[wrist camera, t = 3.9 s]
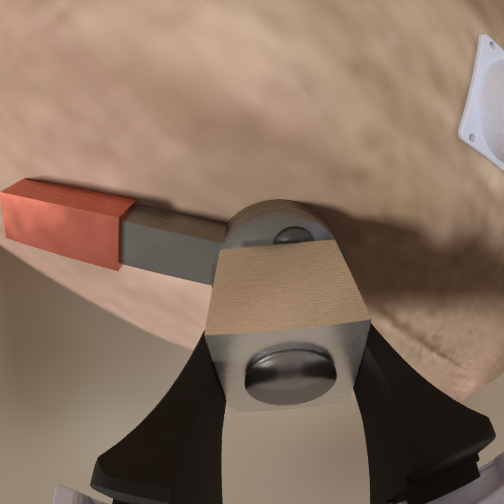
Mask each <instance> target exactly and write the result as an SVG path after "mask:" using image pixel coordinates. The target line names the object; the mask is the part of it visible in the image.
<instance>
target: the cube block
mask: <svg viewBox="0 0 504 504" xmlns="http://www.w3.org/2000/svg"><path fill="white" fill-rule="evenodd" d="M370 323H371V317H370V315H369V312H368V310H367V308H366V305H365V303H364V301H363V299H362V296H361V294H360V292H359V290H358V288H357V285H356V283H355V281H354V279H353V277H352V275H351V272H350V270H349V268H348V266H347V264H346V262H345V260H344V258H343V256H342V254H341V252H340V250H339V248H338V245H337V243H336V241H335V240H324V241H312V242H301V243H290V244H278V245H267V246H256V247H245V248H234V249H223V250H220V253H219V258H218V263H217V268H216V273H215V279H214V284H213V289H212V295H211V300H210V306H209V311H208V317H207V322H206V328H205V334H204V336H205V339H206V342H207V345H208V348H209V351H210V354H211V357H212V360H213V363H214V366H215V369H216V372H217V375H218V377H219V380H220V383H221V386H222V389H223V391H224V394H225V397H226V399H227V402H228V405H229V407H230V410H231V412H249V411H269V410H282V409H294V408H303V407H312V406H320V405H326V404H333V403H339V402H346V401H349V400H350V397H351V393H352V390H353V387H354V384H355V380H356V377H357V374H358V370H359V367H360V363H361V359H362V356H363V352H364V348H365V344H366V340H367V336H368V332H369V328H370Z"/></svg>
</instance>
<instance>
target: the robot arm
mask: <svg viewBox="0 0 504 504" xmlns="http://www.w3.org/2000/svg"><path fill="white" fill-rule="evenodd" d="M490 45H491V46H490ZM470 134H471V139H469V136H470ZM458 136H459V138H460V139H461V140H462V141H463V142H464V143H466V144H467V145H469V146H470V147H472V148H473V149H474V150H476V151H477V152H479V153H480V154H481V155H483V156H484V157H485V158H487V159H488V160H489V161H491V162H492V163H493V164H494V165H496V166H497V167H498V168H499V169H501V170H502V171H503V172H504V50H503V49H502V48H501V47H500V46H498V45H497V44H496V43H495V42H494V41H493V40H492V39H491V38H490V37H489V36H488V35H486V34H481V35H480V36H479V41H478V48H477V54H476V60H475V65H474V70H473V75H472V80H471V84H470V89H469V93H468V97H467V101H466V105H465V108H464V112H463V116H462V119H461V123H460V126H459V129H458ZM204 334H205V331H204V332H203V334H202V336H201V338H200V340H199V342H198V344H197V346H196V348H195V349H194V351H193V353H192V355H191V357H190V358H189V360H188V362H187V364H186V365H185V367H184V368H183V370H182V372H181V373H180V375H179V376H178V378H177V379H176V381H175V382H174V384H173V385H172V386H171V388H170V389H169V391H168V392H167V393H166V395H165V396H164V397H163V399H162V400H161V401H160V402H159V404H158V405H157V406H156V407H155V408H154V409H153V410H152V412H151V413H150V414H149V415H148V416H147V417H146V418H145V419H144V420H143V421H142V422H141V423H140V424H139V425H138V426H137V427H136V428H135V429H134V430H133V431H131V432H130V433H129V434H128V435H127V436H126V437H124V438H123V439H122V440H121V441H120V442H118V443H117V444H116V445H115V446H113V447H112V448H110V449H109V450H107V451H106V452H105V453H103V454H102V455H100V456H99V457H98V459H97V461H96V464H95V467H94V471H93V475H92V479H91V483H90V486H91V487H92V488H93V489H94V490H96V491H98V492H100V493H102V494H104V495H107V496H109V497H111V498H113V503H112V504H223V503H222V477H221V450H222V428H223V421H224V414H225V406H226V397H225V394H224V391H223V389H222V386H221V383H220V380H219V377H218V375H217V372H216V369H215V366H214V363H213V360H212V357H211V354H210V351H209V348H208V345H207V342H206V339H205V336H204ZM353 389H354V393H355V396H356V399H357V402H358V406H359V409H360V412H361V416H362V420H363V425H364V431H365V438H366V445H367V453H368V462H369V475H370V504H504V452H502V453H501V454H500V455H498V456H497V457H496V458H495V459H494V460H492V461H490V462H488V463H487V464H485V465H483V466H482V467H480V468H478V467H477V463H476V462H478V461H479V456H478V453H479V452H480V451H481V450H482V449H484V448H485V447H486V446H487V445H488V444H490V443H491V442H492V441H493V440H494V439H495V437H496V434H495V431H494V429H493V426H492V424H491V422H490V420H489V418H488V417H487V416H484V415H482V414H480V413H477V412H476V411H474V410H471V409H469V408H467V407H466V406H464V405H462V404H460V403H459V402H457V401H455V400H454V399H452V398H451V397H449V396H448V395H446V394H445V393H443V392H442V391H440V390H439V389H437V388H436V387H435V386H433V385H432V384H431V383H429V382H428V381H427V380H426V379H425V378H423V377H422V376H421V375H420V374H419V373H418V372H416V371H415V370H414V369H413V368H412V367H411V366H410V365H409V364H408V363H407V362H406V361H405V360H404V359H403V358H402V357H401V356H400V355H399V354H398V353H397V352H396V351H395V350H394V349H393V348H392V347H391V345H390V344H389V343H388V342H387V341H386V340H385V339H384V338H383V337H382V335H381V334H380V333H379V332H378V331H377V330H376V328H375V327H374V326H373V325H372V324H371V323H370V328H369V332H368V336H367V340H366V344H365V348H364V352H363V356H362V359H361V363H360V367H359V370H358V374H357V377H356V380H355V384H354V387H353ZM52 504H107V503H104V502H100V501H98V500H95V499H92V498H91V497H89V496H87V495H84V494H82V493H80V492H78V491H75V490H73V489H70V488H68V487H66V486H63V485H61V484H57V486H56V490H55V493H54V497H53V502H52Z"/></svg>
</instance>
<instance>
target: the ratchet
mask: <svg viewBox="0 0 504 504" xmlns="http://www.w3.org/2000/svg"><path fill="white" fill-rule="evenodd" d="M0 196H1V205H2V214H3V221H4V227H5V233H6V238H8V239H11V240H14V241H17V242H21V243H24V244H27V245H30V246H33V247H36V248H39V249H43V250H46V251H49V252H52V253H56V254H59V255H63V256H66V257H69V258H73V259H76V260H80V261H83V262H87V263H90V264H94V265H98V266H101V267H105V268H109V269H112V270H116V271H119V269H120V268H121V266H122V265H123V264H124V265H128V266H132V267H136V268H140V269H144V270H148V271H152V272H156V273H160V274H165V275H169V276H173V277H177V278H182V279H186V280H190V281H195V282H199V283H204V284H208V285H212V289H213V284H214V279H215V273H216V268H217V263H218V258H219V253H220V250H223V249H234V248H245V247H256V246H267V245H278V244H290V243H301V242H312V241H324V240H335V241H336V243H337V245H338V248H339V250H340V252H341V254H342V256H343V258H344V260H345V257H344V254H343V252H342V250H341V248H340V246H339V244H338V242H337V240H336V238H335V236H334V234H333V232H332V230H331V229H330V227H329V225H328V223H327V222H326V221H325V220H324V219H323V217H322V216H320V215H319V214H318V213H317V212H316V211H314V210H313V209H311V208H310V207H308V206H306V205H304V204H301V203H298V202H294V201H289V200H268V201H262V202H259V203H256V204H253V205H251V206H249V207H246V208H245V209H243V210H241V211H240V212H238V213H237V214H236V215H235V216H234V217H232V219H231V220H230V221H229V222H228V223H227V224H224V223H219V222H215V221H210V220H206V219H201V218H197V217H192V216H188V215H183V214H178V213H174V212H169V211H164V210H160V209H155V208H150V207H146V206H141V205H136V203H137V200H136V199H131V198H126V197H121V196H116V195H111V194H106V193H100V192H95V191H90V190H85V189H79V188H74V187H68V186H63V185H57V184H52V183H46V182H40V181H34V180H29V179H22V180H20V181H19V182H17V183H15V184H13V185H11V186H10V187H8V188H6V189H5V190H3V191H1V192H0ZM345 262H346V261H345Z"/></svg>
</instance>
